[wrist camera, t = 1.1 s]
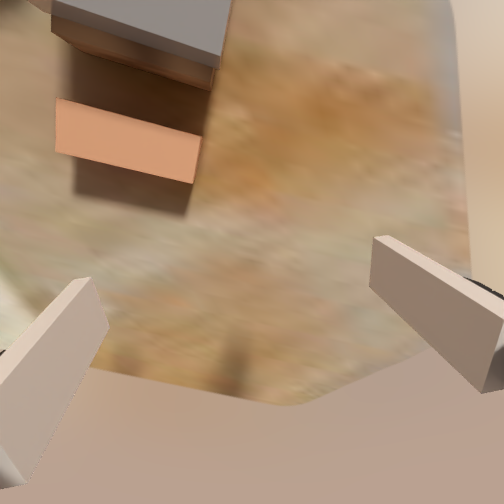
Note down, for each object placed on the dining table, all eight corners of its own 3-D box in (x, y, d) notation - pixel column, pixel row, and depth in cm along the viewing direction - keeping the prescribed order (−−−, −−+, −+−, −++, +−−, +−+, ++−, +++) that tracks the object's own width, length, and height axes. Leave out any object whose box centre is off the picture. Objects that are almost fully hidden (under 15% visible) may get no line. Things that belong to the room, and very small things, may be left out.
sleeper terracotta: (79, 149, 27) (55, 151, 23) (81, 103, 25) (56, 97, 21) (195, 177, 29) (192, 183, 25) (202, 136, 28) (200, 136, 24)
